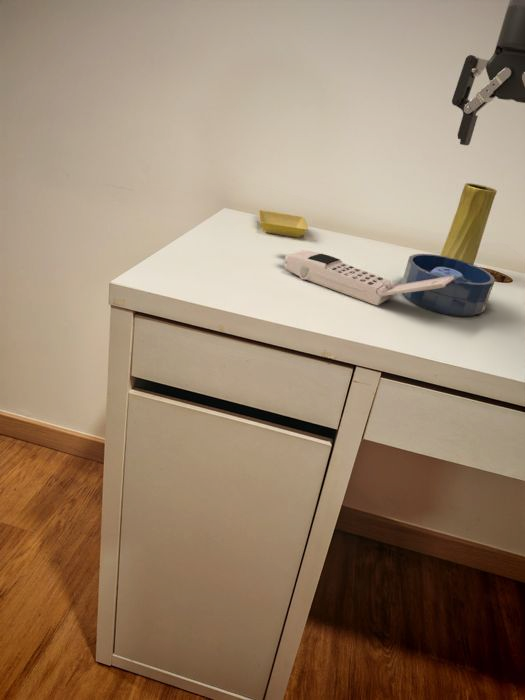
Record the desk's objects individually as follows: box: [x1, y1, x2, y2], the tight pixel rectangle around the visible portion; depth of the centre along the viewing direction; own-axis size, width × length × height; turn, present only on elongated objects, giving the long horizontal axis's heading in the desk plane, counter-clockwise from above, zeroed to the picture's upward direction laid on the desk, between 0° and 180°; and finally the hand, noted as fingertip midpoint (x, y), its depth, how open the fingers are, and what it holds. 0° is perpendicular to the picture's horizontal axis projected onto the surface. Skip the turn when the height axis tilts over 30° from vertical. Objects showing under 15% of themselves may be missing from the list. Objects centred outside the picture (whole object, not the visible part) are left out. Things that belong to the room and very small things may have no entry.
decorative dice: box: [430, 267, 465, 282], centre depth 85 cm, size 4×4×4 cm
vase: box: [440, 182, 498, 265], centre depth 99 cm, size 6×6×14 cm
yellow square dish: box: [258, 209, 309, 238], centre depth 106 cm, size 9×9×2 cm
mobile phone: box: [283, 249, 455, 306], centre depth 82 cm, size 6×6×25 cm
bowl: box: [401, 253, 496, 317], centre depth 85 cm, size 12×12×5 cm
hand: (496, 151), depth 75 cm, fingers open, 8 cm apart
